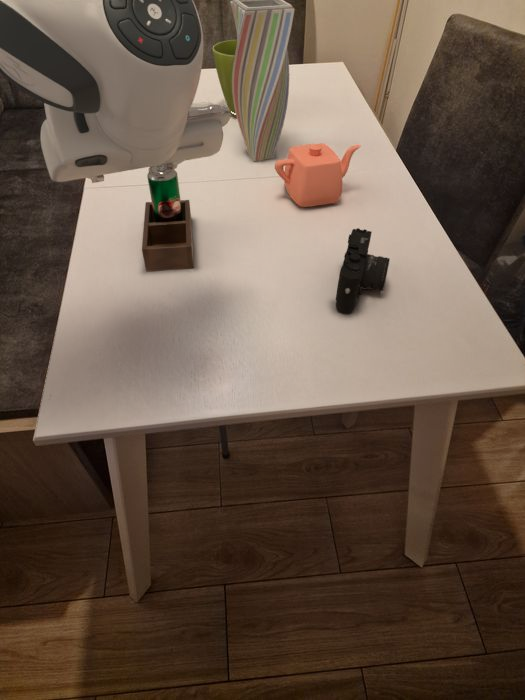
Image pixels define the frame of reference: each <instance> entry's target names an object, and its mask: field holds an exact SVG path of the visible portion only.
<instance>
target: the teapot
mask: <svg viewBox="0 0 525 700" xmlns="http://www.w3.org/2000/svg"><path fill="white" fill-rule="evenodd" d="M361 146H362V145H361V144H354V145H352V146H350V147H349V148H347V149H346V151H345V152H344V154H343V156H342V159H340V157H339V156H338V154H337V153H336V152H335V151H334V150H333V149H332V148H331V147H330V146H329V145H327V144H326V143H324V142H323V143H322V142H321V143H311V144H303V145H301V144H300V145H294V146H291V147H290V148H289V151H288V154H287V156H286V158H285V159H279V160H277V161H275V163H274V170H275V172H276V174H277V175H278V176H279V177H280V178H281V179H282V180H283V182H284V186H285V189H286V191H287V193H288V195H289V197H290V198H291V199H292V200H293V202H295V204H297V205H298V206H299V207H301V208H304V207H305V208H306V207H317V206H323V205H328V204H334V203H337V202H338V201H339V200H340V198H341V196H342V192H343V178H345V176H346V175H347V173H348V170H349V166H350V163H351V159H352V158H353V157H352V156H353V155H354V154H355V152H356V151H357V150H358V149H360V148H361Z"/></svg>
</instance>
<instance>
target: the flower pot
mask: <svg viewBox="0 0 525 700" xmlns="http://www.w3.org/2000/svg"><path fill="white" fill-rule="evenodd" d="M236 46H237V39H229V40H224V41H220V42H217V43H215V44H213V46H212V54H213V61H214V64H215V69H216V73H217V78H218V81H219V84H220V88H221V92H222V94H223V98H224V101H225V104H226V106H227V108H229V110H230V111H232V112H234V113H236V112H235V108H234V102H233V94H232V71H233V63H234V57H235V52H236ZM231 117H233V118H236V119H237V116H236V115H234V114H232V113H231Z"/></svg>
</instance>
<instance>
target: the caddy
mask: <svg viewBox="0 0 525 700" xmlns="http://www.w3.org/2000/svg"><path fill="white" fill-rule="evenodd" d="M180 200H181V208H182V216H183V221H174V222H157V223H155V218H154V212H153V206H152V201H146V202H145V204H144V219H143V230H142V231H143V232H142V243H141V251H142V256H143V262H144V267H145V271H146V272H158V271H172V270H173V271H174V270H185V269H195V264H194V263H195V261H194V245H193V244H194V243H193V223H192V213H191V202H190V199H180Z"/></svg>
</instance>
